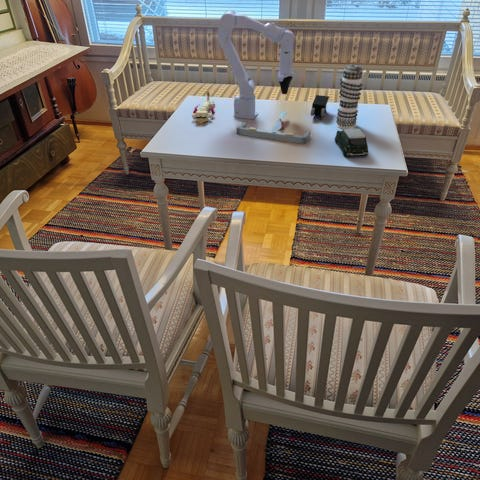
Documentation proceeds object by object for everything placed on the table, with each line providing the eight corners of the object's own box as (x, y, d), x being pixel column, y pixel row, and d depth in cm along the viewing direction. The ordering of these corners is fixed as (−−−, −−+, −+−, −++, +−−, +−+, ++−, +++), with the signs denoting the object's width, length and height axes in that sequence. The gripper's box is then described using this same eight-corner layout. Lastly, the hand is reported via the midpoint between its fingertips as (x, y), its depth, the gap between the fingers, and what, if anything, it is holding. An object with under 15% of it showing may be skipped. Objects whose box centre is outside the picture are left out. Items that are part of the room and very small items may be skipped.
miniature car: (355, 139, 173) (357, 120, 168) (369, 158, 159) (372, 138, 154) (333, 140, 173) (335, 121, 168) (345, 159, 158) (348, 139, 153)
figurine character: (324, 124, 190) (328, 110, 201) (325, 108, 185) (330, 94, 196) (309, 123, 192) (314, 108, 202) (310, 107, 187) (315, 93, 197)
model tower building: (331, 123, 188) (338, 64, 173) (349, 120, 190) (357, 62, 175) (341, 130, 181) (349, 69, 166) (360, 127, 183) (369, 67, 168)
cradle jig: (236, 133, 180) (236, 126, 178) (243, 127, 185) (243, 120, 183) (304, 144, 170) (305, 136, 168) (310, 136, 175) (310, 129, 174)
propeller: (267, 138, 175) (267, 128, 173) (282, 117, 194) (282, 108, 192) (277, 139, 174) (277, 129, 172) (291, 118, 193) (291, 109, 191)
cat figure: (199, 109, 210) (189, 123, 189) (198, 90, 205) (188, 103, 184) (219, 109, 209) (211, 123, 188) (218, 91, 204) (210, 103, 183)
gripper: (289, 66, 175) (288, 99, 183) (299, 58, 185) (297, 90, 193) (273, 65, 177) (272, 97, 185) (284, 57, 188) (283, 88, 196)
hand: (284, 93), depth 189 cm, fingers closed
